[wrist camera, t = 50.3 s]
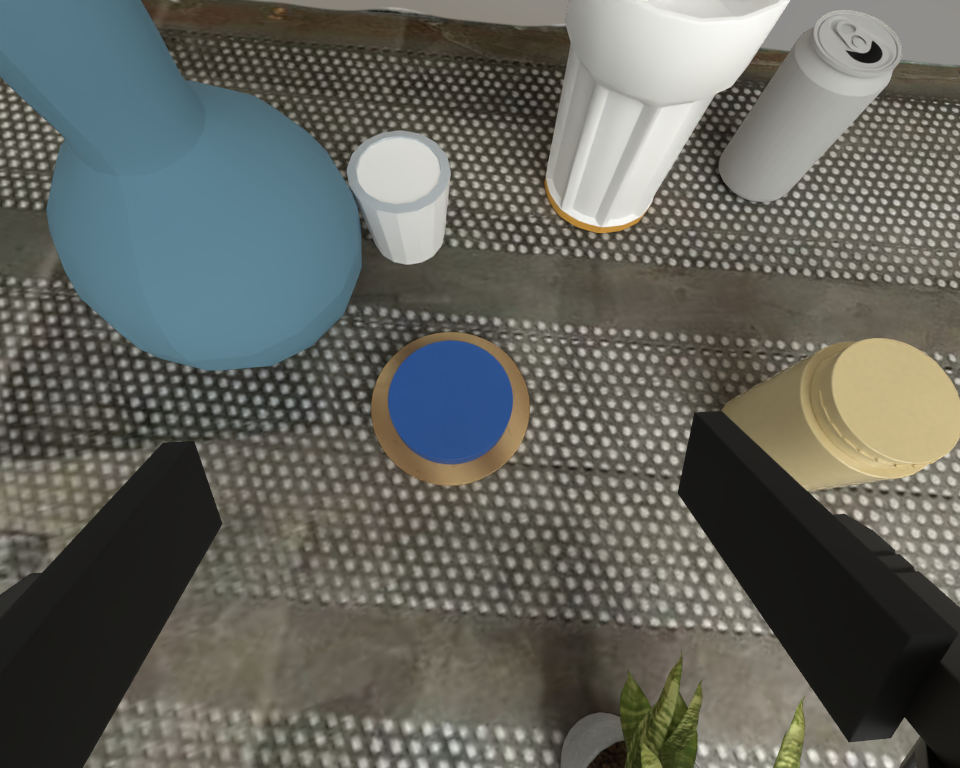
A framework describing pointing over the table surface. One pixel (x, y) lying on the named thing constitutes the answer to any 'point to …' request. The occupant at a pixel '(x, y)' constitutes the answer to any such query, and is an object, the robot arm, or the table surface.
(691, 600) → the table surface
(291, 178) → the vase
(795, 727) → the house plant
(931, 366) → the jar
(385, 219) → the shot glass
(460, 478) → the coaster
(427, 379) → the jar lid
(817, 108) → the beverage can
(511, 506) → the table surface
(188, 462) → the robot arm
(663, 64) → the cup
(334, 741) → the table surface
